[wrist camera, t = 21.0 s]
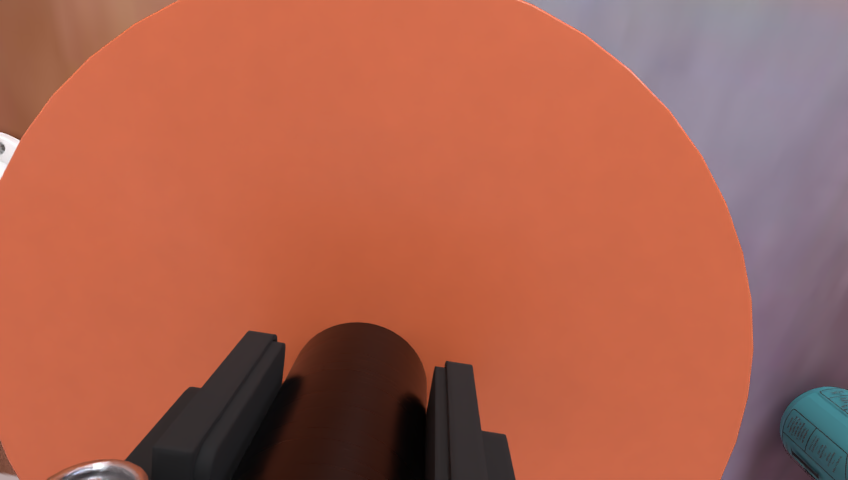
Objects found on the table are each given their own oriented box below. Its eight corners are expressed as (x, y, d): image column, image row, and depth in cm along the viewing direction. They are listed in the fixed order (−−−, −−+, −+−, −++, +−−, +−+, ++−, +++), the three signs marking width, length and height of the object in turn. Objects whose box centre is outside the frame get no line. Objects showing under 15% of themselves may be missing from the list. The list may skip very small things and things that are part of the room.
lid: (20, 592, 15) (-372, 1055, 8) (2, -88, 11) (-867, -469, 4) (626, 679, 16) (800, 1205, 8) (827, 49, 12) (1553, -49, 4)
